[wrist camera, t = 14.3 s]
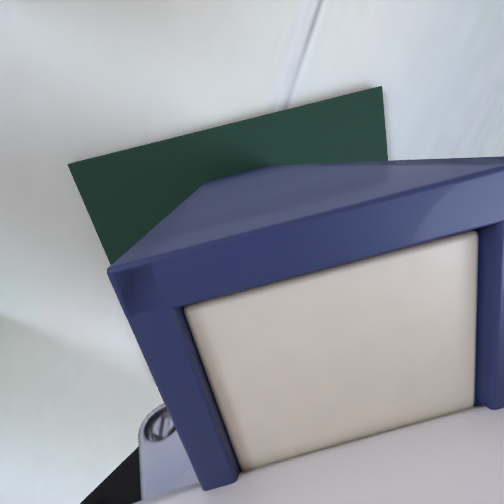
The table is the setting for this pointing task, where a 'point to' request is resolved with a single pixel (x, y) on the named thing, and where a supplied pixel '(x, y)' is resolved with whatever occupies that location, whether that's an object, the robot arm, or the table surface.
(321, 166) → the navy book
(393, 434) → the robot arm
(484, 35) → the table surface
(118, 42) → the table surface
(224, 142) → the desk pad
